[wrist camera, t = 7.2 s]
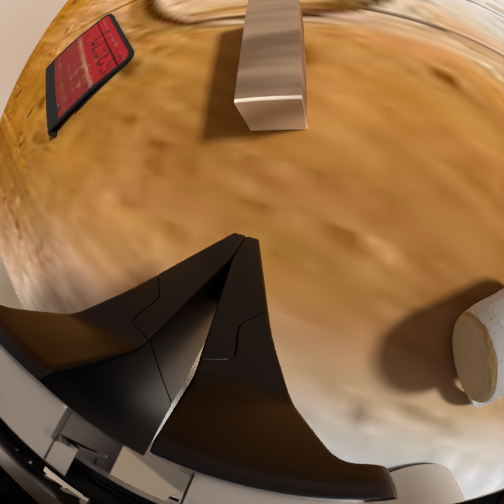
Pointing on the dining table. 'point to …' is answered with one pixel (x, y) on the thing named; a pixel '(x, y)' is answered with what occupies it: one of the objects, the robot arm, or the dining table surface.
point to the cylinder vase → (425, 486)
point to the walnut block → (272, 67)
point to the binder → (84, 69)
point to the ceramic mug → (481, 350)
